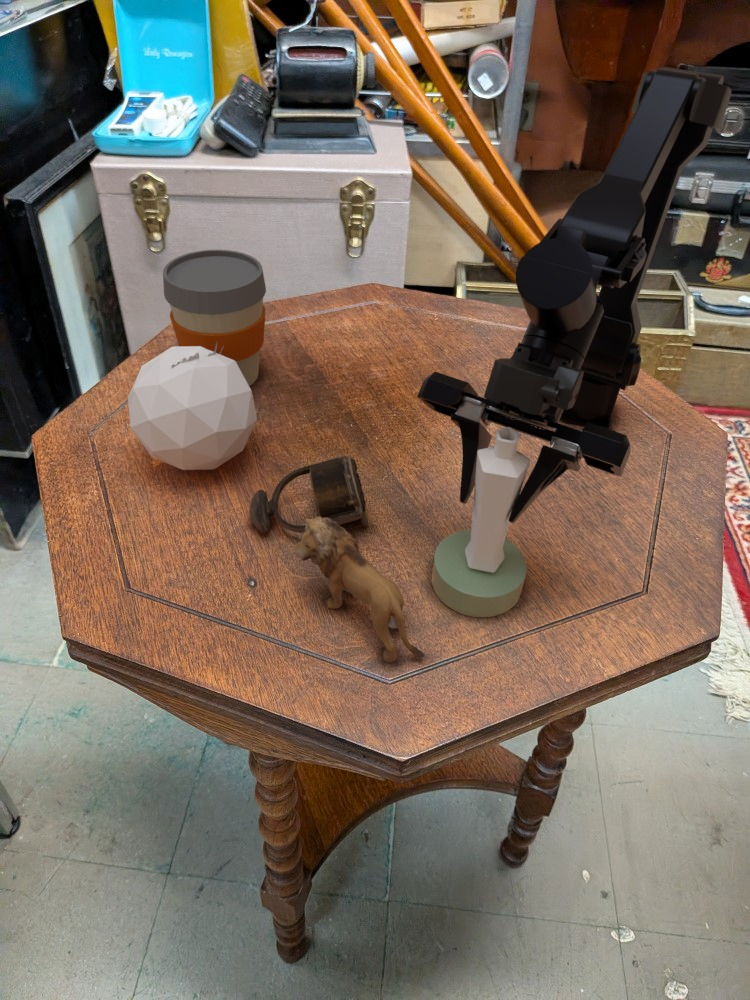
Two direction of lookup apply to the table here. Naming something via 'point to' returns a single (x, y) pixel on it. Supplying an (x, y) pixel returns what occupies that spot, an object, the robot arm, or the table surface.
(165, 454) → the geodesic sphere
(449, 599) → the ceramic stand
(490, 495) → the perfume bottle
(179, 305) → the reusable coffee cup
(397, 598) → the lion figurine
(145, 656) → the table surface
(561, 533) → the table surface
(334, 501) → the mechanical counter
